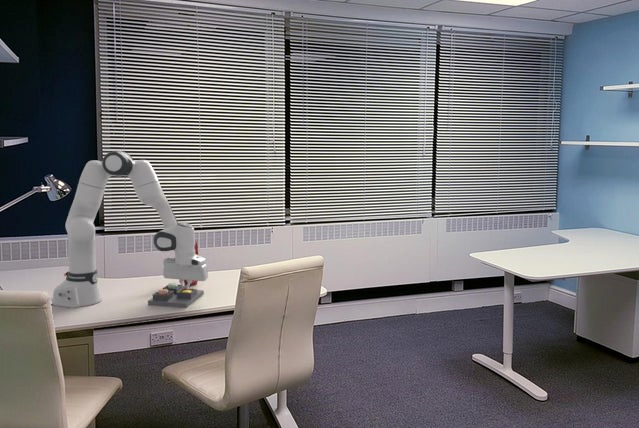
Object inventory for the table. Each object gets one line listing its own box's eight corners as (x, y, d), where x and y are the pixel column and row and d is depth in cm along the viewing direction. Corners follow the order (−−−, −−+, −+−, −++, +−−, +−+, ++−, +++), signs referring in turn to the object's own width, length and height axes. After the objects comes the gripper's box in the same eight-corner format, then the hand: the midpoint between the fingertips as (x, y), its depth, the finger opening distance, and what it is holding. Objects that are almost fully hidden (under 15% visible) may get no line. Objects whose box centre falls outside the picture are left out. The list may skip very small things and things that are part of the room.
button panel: (148, 305, 260) (147, 295, 259) (167, 292, 279) (167, 282, 279) (186, 307, 257) (186, 298, 256) (203, 294, 276) (203, 285, 275)
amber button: (180, 296, 265) (180, 292, 265) (184, 294, 269) (184, 289, 269) (189, 297, 264) (189, 293, 264) (193, 294, 269) (193, 290, 268)
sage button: (166, 289, 271) (166, 285, 271) (170, 286, 276) (170, 282, 275) (175, 290, 271) (175, 285, 270) (179, 287, 275) (179, 283, 274)
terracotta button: (156, 296, 262) (156, 291, 261) (160, 293, 266) (160, 288, 266) (165, 296, 261) (165, 292, 260) (170, 293, 265) (169, 289, 265)
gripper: (160, 258, 262) (160, 289, 265) (203, 262, 259) (204, 292, 261) (166, 255, 269) (167, 285, 271) (209, 258, 265) (209, 288, 267)
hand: (185, 288), depth 266 cm, fingers closed
